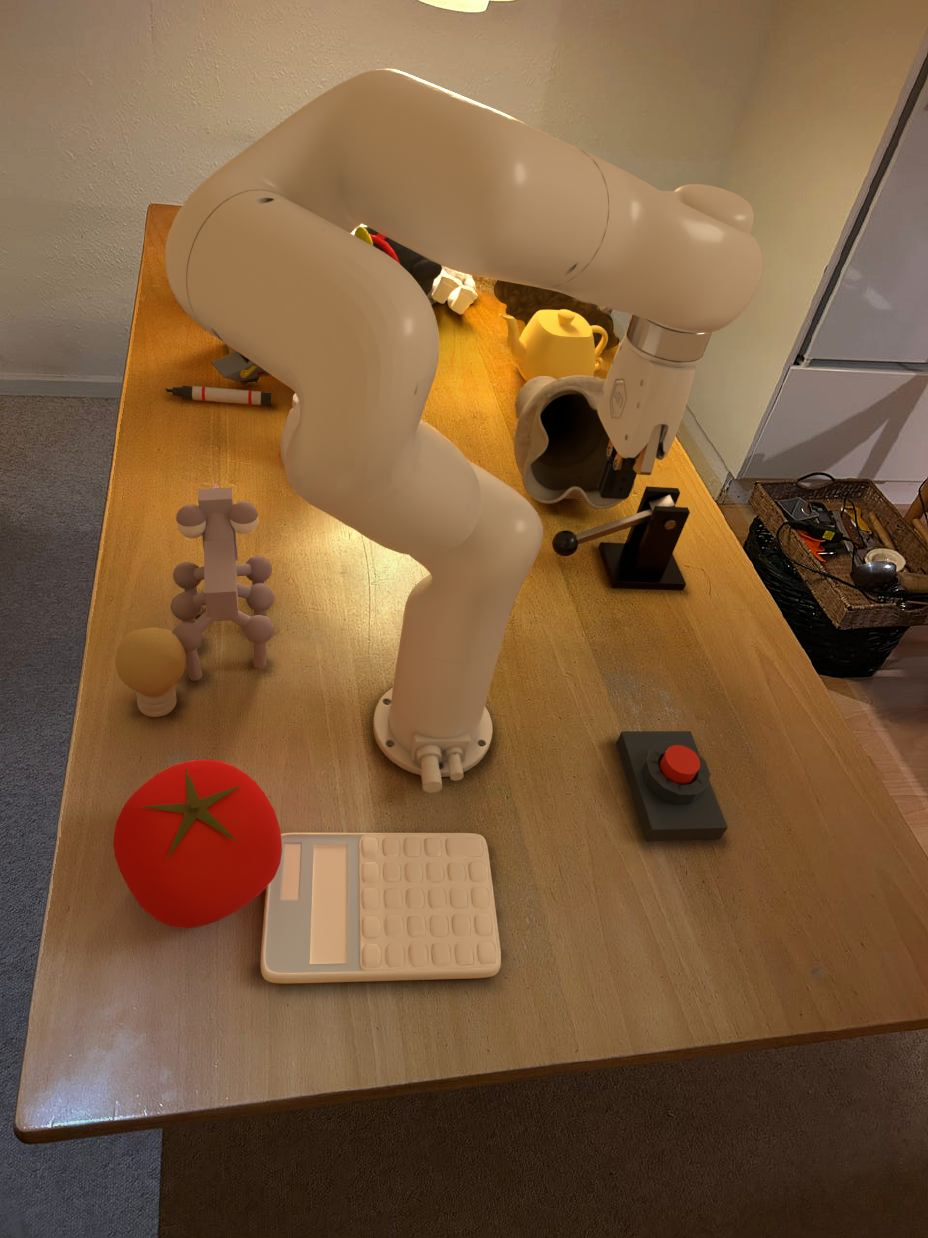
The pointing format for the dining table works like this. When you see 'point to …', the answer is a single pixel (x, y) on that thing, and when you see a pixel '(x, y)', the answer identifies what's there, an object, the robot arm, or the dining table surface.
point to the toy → (403, 257)
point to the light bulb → (151, 668)
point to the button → (680, 764)
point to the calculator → (380, 909)
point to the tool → (239, 369)
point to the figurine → (553, 307)
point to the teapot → (555, 345)
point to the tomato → (197, 843)
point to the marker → (222, 395)
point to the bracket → (648, 547)
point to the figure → (454, 289)
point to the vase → (561, 439)
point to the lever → (604, 529)
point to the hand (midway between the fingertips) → (611, 493)
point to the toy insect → (220, 576)
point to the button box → (668, 789)
